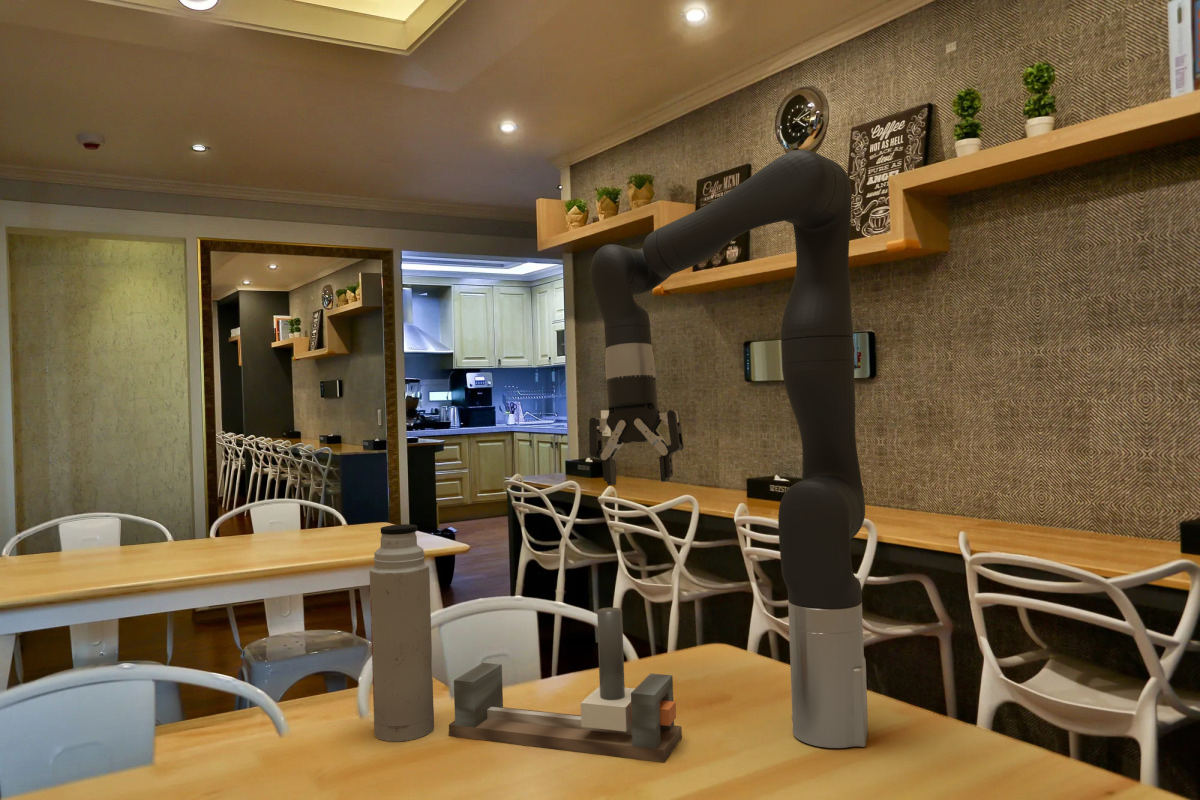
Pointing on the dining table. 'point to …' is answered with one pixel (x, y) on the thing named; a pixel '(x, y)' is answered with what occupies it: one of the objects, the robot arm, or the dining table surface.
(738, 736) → the dining table surface
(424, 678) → the thermos bottle
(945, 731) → the dining table surface
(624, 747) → the rail board
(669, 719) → the reset pin
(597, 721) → the carriage
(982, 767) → the dining table surface
